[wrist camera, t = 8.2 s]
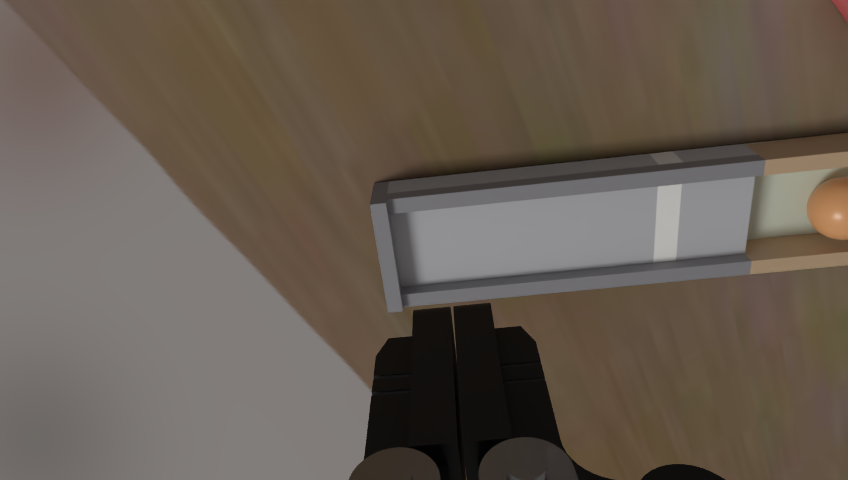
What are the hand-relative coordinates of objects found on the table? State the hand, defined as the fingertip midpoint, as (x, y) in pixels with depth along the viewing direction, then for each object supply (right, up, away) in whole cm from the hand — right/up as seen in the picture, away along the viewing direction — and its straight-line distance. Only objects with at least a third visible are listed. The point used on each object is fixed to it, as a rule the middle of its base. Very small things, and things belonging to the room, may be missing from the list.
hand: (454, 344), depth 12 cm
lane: (+14, +4, +30) cm, 34 cm away
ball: (+26, +4, +28) cm, 38 cm away
